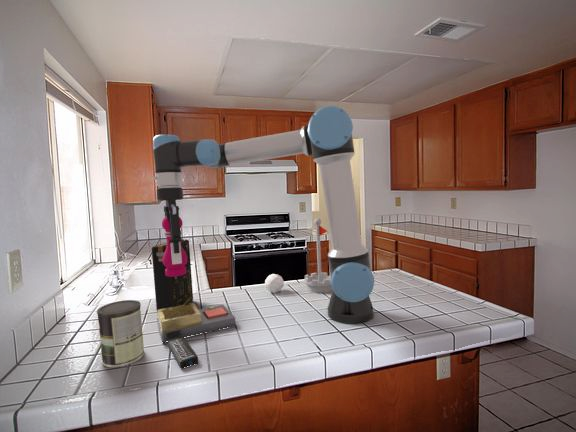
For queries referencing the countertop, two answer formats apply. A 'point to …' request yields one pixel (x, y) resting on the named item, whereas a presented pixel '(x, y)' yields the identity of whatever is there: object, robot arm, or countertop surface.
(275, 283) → the ball
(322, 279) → the flag stand
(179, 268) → the pepper mill
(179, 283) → the voltmeter
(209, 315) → the button
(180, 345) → the multiport hub
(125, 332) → the coffee can
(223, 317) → the grey board with box
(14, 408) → the countertop surface
